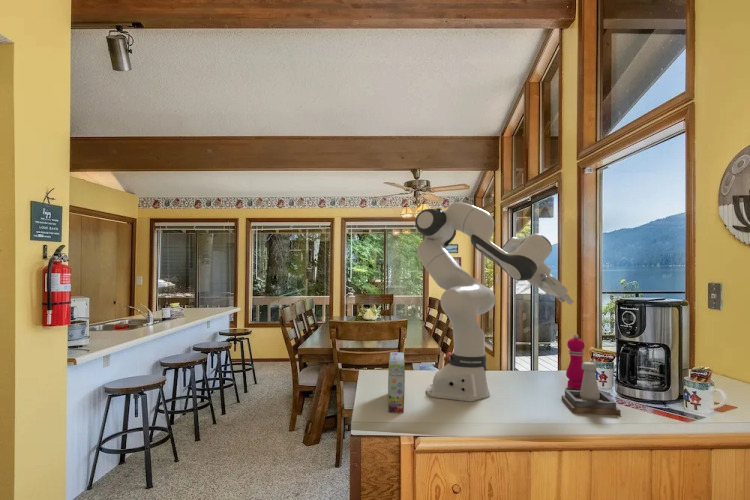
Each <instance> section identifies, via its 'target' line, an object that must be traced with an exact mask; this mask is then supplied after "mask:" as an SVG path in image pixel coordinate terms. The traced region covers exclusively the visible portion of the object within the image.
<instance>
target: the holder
mask: <svg viewBox="0 0 750 500" xmlns="http://www.w3.org/2000/svg"><path fill="white" fill-rule="evenodd" d="M580 391H581V390H571V389H570V390H569V389H565V390H564V395H563V394H562V395H561V401H562V402H563V404H565V406H566V407H567V408H568V409H569V411H570V412H571V413H573V414H590V415H591V414H593V415H611V416H612V415H614V416H621V412H622V411H621V409H619V408H618V407H617V402H615V401H614V399H612V398H611V397H610V396H608V395H607V394H606V393H605V392H603V391H599V394H600V398H599V400H598V401H583V400H582V398H581V397H580Z"/></svg>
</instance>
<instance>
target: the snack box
mask: <svg viewBox="0 0 750 500" xmlns="http://www.w3.org/2000/svg"><path fill="white" fill-rule="evenodd" d="M405 365H406V364H405V353H404V352H397V351H395V352H389V360H388V370H387V371H388V377H387V407H388V408H387V413H396V412H397V413H399V414H404V411H405V394H406V393H405V392H406V391H405V390H406V387H405V383H406V381H405V380H406V379H405V378H406V370H405V369H406V367H405Z"/></svg>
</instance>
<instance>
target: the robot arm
mask: <svg viewBox="0 0 750 500" xmlns="http://www.w3.org/2000/svg"><path fill="white" fill-rule="evenodd" d="M494 221H495V220H494V217H493V216H492V215H491V213H490V212H488V211H486V210H484V209H482V208H480V207H478V206H475V205H473V204H469V203H466V202H461V201H455V202H453V203H451V204H450V205H449V206H448V208H447V209H446V210H444V209H443V208H442V207H438V208H425V209H423V210H421V211H419V212H418V214H417V215H416V218H415V220H414V223H415V224H414V225H415V227H416V229H417V231H418V232H419V233H420V234H421V235H422V236H424V238H423V240H422V241H421V242H420V243H419V245H418V246H417V248H416V255H417V257H418V258H419V260H420V262H421V264H422V265H423V267H424V269H425V270H426V272H427V273H428V274H429V276H431V278H432V279H433V281H434V282H435V284H436V285H437V286H438V287H440V288H441V289H443V290H445V291H444V292H443V293H442V295H441V297H440V301H439V303H440V307H441V309H442V311H443V312H444V314H445V315H447V316H446V317H448V319H449V322H450V324H451V329H452V335H453V336H452V337H453V353H452V352H447V353H446V358H447V364H446V365H445V366H443V367H442V368H440V369H439V370H438V371H436V373H435V374H434V376H433V379H432V383H431V384H429V385H428V386H427V387H426V394H427V396H429V397H431V398H438V399H445V400H457V401H463V402H475V401H478V400H482V399H485V398H486V399H487V398H488V397H489V396H490V395H491V393H490V390H489V385H488V380H487V374H486V373H487V366H488V365H487V355H486V350H485V349H486V343H485V340H486V339H485V332H484V331H483V329H482V328H481V327H480V325H479V321H478V318H477V315H483V314H486V313H487V312H489V311H490V310H492V309H493V308H494V306H495V303H496V295H495V293H494V291H493V290H492V289H491V288H490V287H487V286H485V285H484V284H482V283H481V282H479V281H478V280H477V279H476V278H474V277H473V276H472V275H470V274H469V273H468V272H467V271H466V270H464V269H463V268H462V266H461V265H460V264H459V263H458V261H456V259H454V257H453V255H451V253H449V251H448V250H447V249H446V248H447V247H448V246H449V245H450V243H451V242H452V241H454V239H455V237H456V234H457V231H459V232H461V233H463V234H465V235H467V236H468V237H469V238H470V242H471V245H472V246H473V247H474V248H475V249H476V250H477V251H479V253H481V254H482V255H484V256H485V257H486V258H488V259H489V260H490V261H492V263H494V264H495V265H497V266H498V267H500V268H501V269H503V271H504V272H505V273H506V274H507V275H508V276H509V277H510V278H512V279H513V280H515V281H521V282H524V281H527V283H528V284H530V285H531V286H532V287H535V286H536V287H538V288H539V289H540V290H542V291H543V292H544V293H546V294H548V295H550V296H553V297H554V298H555V299H558V300H559V301H560V302H561V303H564V302H566V303H567V304H568V305H572V304H573V303H574V300H573V298H571V297H570V296H569V294H568V293H569V289H568V288H567V287H566V286H565V285H564V284H562V282H561V281H559V280H558V279H557V278H556V277H554V276H553V274H552V273H551V271H552V268H551V267H550V266H549V265H548V264H547V263H546V262H545V261H546V259H548V257H549V256H550V254H551V253H552V251H553V247H552V243H551V241H550V240H549V239H548V238H547V237H546V236H545V235H543V234H540V233H531V234H529V235H527V236H524V237H516V236H512V237H510V238H509V239H508V240H507V241H506V242H505V244H504V245H502V247H499V246H498V245H496V244H495V243H493V241H491V239H492V236H493V234H494V229H495V222H494Z"/></svg>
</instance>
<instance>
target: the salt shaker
mask: <svg viewBox="0 0 750 500" xmlns="http://www.w3.org/2000/svg"><path fill="white" fill-rule="evenodd" d="M597 368H598V366H597V363H595V362H592V361H591V362H590V361H584V362H582V369H583V370H584V375H583V380H582V385H581V389H580V390H579V391H580V397H581V398H582V400H583V401H598V400H599V398H600V394H599V392H600V390H599V385H598V382H597V377H596V372H595V371H597Z"/></svg>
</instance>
